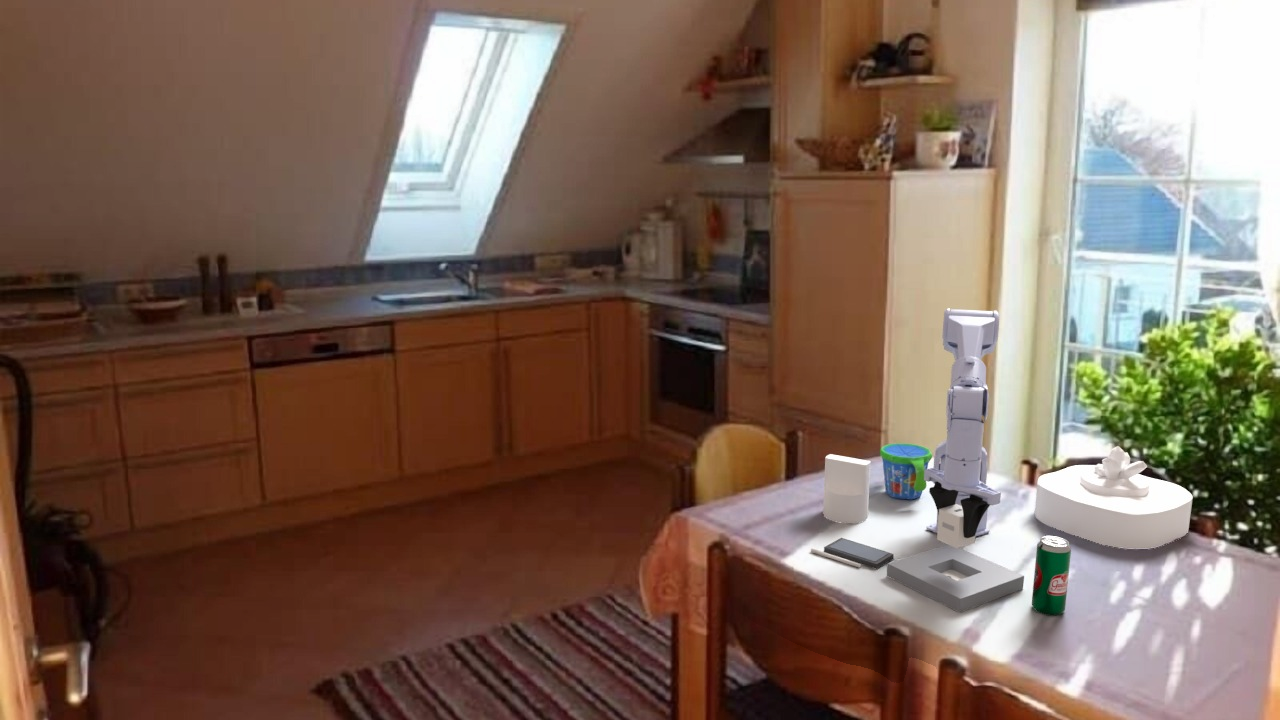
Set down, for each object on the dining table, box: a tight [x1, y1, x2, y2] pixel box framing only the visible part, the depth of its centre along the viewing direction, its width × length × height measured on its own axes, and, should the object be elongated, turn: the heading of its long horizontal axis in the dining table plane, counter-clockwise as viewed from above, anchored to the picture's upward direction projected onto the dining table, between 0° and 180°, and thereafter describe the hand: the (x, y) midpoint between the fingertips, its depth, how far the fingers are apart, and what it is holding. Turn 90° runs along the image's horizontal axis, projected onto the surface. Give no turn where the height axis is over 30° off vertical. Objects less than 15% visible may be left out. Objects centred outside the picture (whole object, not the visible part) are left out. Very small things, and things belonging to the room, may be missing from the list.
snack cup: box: [879, 442, 933, 501], centre depth 209 cm, size 16×10×10 cm
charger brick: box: [936, 504, 977, 549], centre depth 165 cm, size 4×4×6 cm
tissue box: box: [1034, 445, 1194, 549], centre depth 193 cm, size 25×25×16 cm
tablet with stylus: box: [810, 537, 894, 570], centre depth 179 cm, size 8×13×1 cm, turn 47°
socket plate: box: [886, 544, 1025, 613], centre depth 168 cm, size 16×16×2 cm
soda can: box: [1031, 535, 1072, 616], centre depth 157 cm, size 5×5×12 cm
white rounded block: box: [822, 453, 872, 524], centre depth 197 cm, size 9×9×12 cm
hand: (957, 531), depth 166 cm, fingers closed on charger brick, 4 cm apart
